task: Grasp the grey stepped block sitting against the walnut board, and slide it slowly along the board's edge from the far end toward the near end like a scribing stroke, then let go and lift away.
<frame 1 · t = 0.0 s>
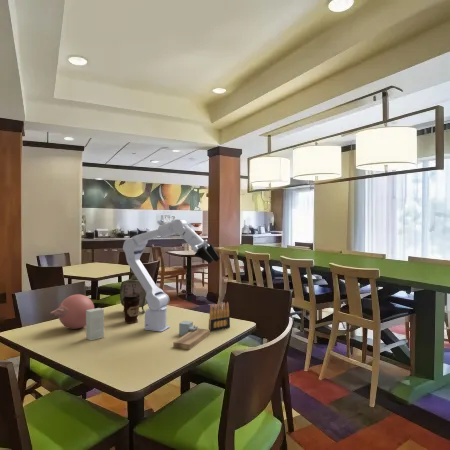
hand: (215, 260, 152), 32 cm above the table, tool tilted 50°, fingers open, 7 cm apart
grey stepped block: (186, 333, 155), on the table
skincare box: (94, 338, 148), on the table
tabletop clock: (136, 312, 192), on the table
coffee cup: (131, 322, 173), on the table
board: (192, 340, 146), on the table
balloon: (71, 329, 160), on the table
ammunition clip: (219, 329, 162), on the table
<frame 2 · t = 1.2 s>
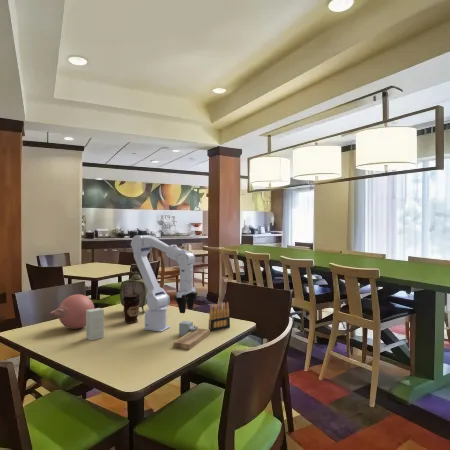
hand: (186, 310, 155), 10 cm above the table, tool pointing down, fingers open, 7 cm apart
nothing on the table moved.
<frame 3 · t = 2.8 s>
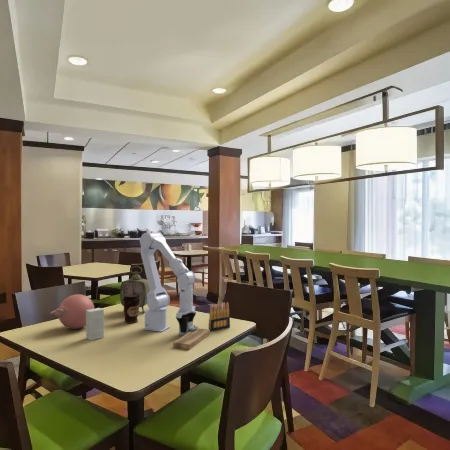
hand: (186, 330, 155), 1 cm above the table, tool pointing down, fingers closed on grey stepped block, 4 cm apart
grey stepped block: (186, 333, 155), on the table, touching gripper
everything else where it was.
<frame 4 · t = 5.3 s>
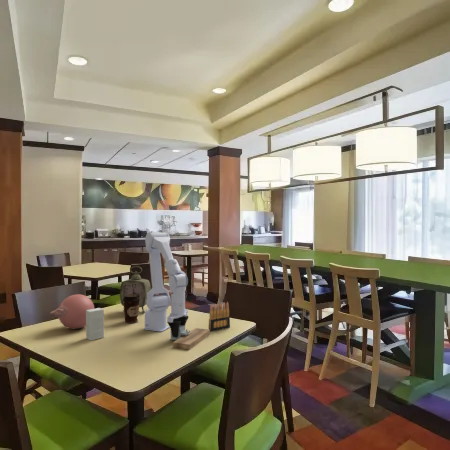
hand: (177, 335, 147), 2 cm above the table, tool pointing down, fingers closed on grey stepped block, 4 cm apart
grey stepped block: (177, 338, 147), on the table, touching gripper
everything else where it was.
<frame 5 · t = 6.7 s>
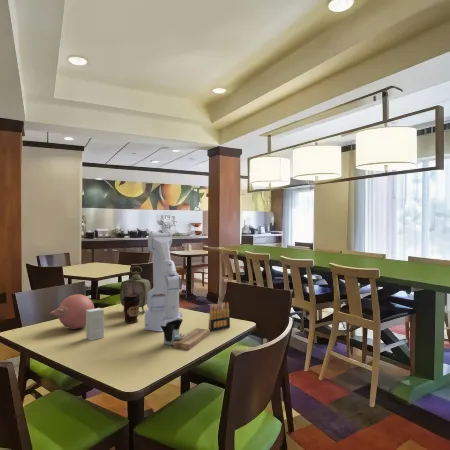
hand: (171, 339, 142), 2 cm above the table, tool pointing down, fingers closed on grey stepped block, 4 cm apart
grey stepped block: (171, 342, 142), on the table, touching gripper
everything else where it was.
when the fingers open (2 cm above the table, at t = 7.8 s): grey stepped block stays where it is, on the table.
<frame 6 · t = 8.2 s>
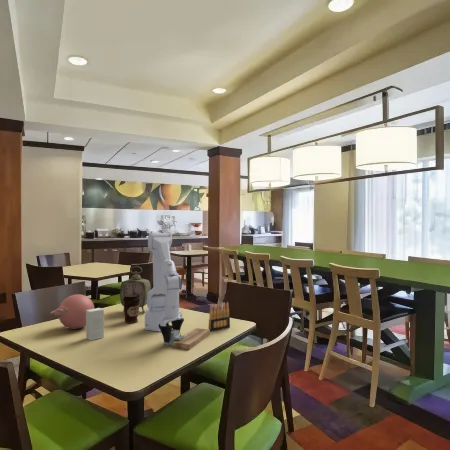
hand: (171, 339, 142), 2 cm above the table, tool pointing down, fingers open, 7 cm apart
grey stepped block: (171, 343, 142), on the table
everything else where it was.
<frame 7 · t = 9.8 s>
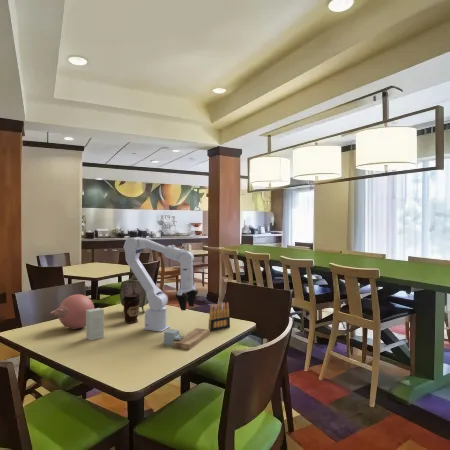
hand: (187, 308, 160), 10 cm above the table, tool pointing down, fingers open, 7 cm apart
nothing on the table moved.
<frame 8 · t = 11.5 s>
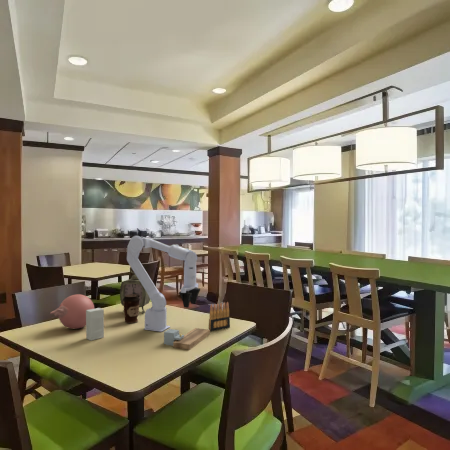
hand: (189, 305, 165), 10 cm above the table, tool pointing down, fingers open, 7 cm apart
nothing on the table moved.
at the end: grey stepped block 0.2 cm from the target spot, on the table; grey stepped block tilted 0°; the gripper is holding nothing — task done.
